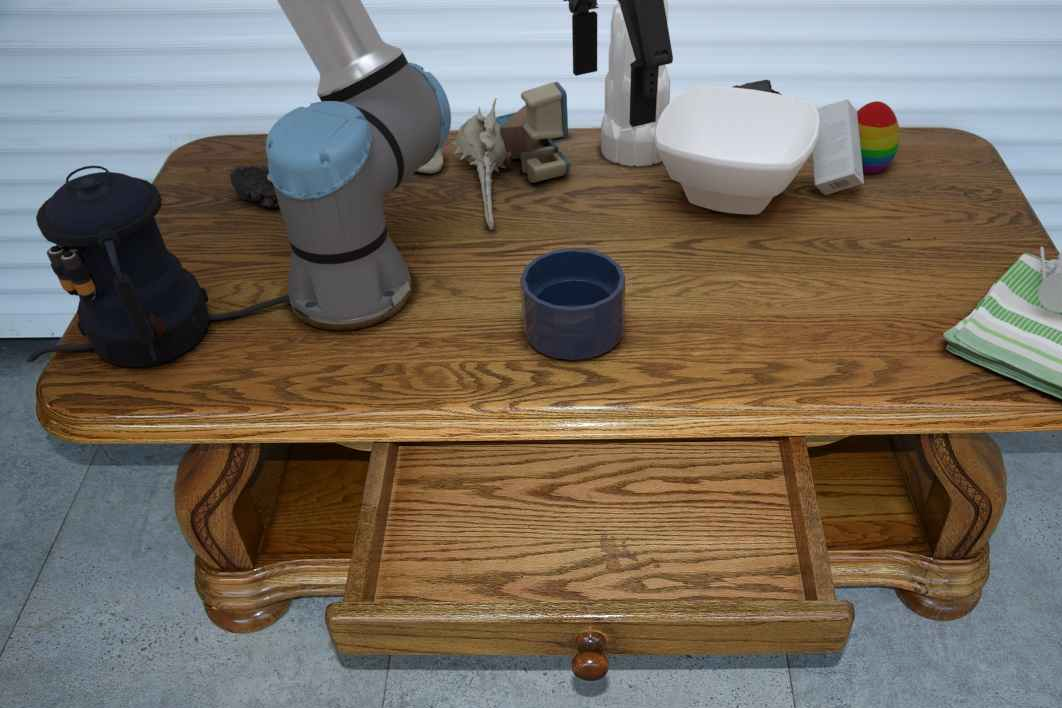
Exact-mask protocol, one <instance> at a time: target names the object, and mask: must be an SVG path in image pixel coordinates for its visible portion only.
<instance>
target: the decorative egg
mask: <svg viewBox="0 0 1062 708" xmlns="http://www.w3.org/2000/svg"><path fill="white" fill-rule="evenodd" d="M856 111H857V116H858V126H859V137H860V147H861V158H862V168H863V174H876V173H879V172H881V171H884V170H885V169H886V168H887V167H888V166H889V165H890V164H891V162H892V161H893V160H894V158H895V156H896V155H897V152H898V149H899V145H900V137H901V136H900V125H899V121H898V118H897V115H896V114H895V112H894V111H893V109H892V108H891V107H890V106H889V105H888V104H887V103H885V102H883V101H880V100H879V101H877V100H875V101H871V102H869V103H866V104H865V105H862V106H861V107H860V108H859V109H857V110H856Z"/></svg>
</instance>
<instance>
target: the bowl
mask: <svg viewBox="0 0 1062 708" xmlns="http://www.w3.org/2000/svg"><path fill="white" fill-rule="evenodd" d="M780 94H781V93H780ZM780 94H776V93H770V92H764V91H759V90H752V89H743V88H734V87H733V86H718V85H696V86H690V87H689V88H687V89H685V90H683V91H681V92H680V93H678V94H677V95H676V96H675V97H674V98H673V99H671V100H670V102H669V104H668V106H667V107H666V108H665V109H664V111H663V112H662V113H661V115H660V118H659V120H658V122H657V124H656V127H655V132H654V136H653V139H654V144H655V148H656V150H657V152H658V154H659V156H660V158H661V160H662V161H661V162H662V163H663V166H664V168H665V170H666V172H667V174H668V176H669V178H670V180H672V181H675V182H678V183H679V184H680V185H681V186H682V190H683V191H684V192H683V193H684V194H685V196H686V198H687V201H688V202H689V203H690V204H692V205H695V206H698V207H701V208H704V209H709V210H712V211H715V212H721V213H725V214H726V213H727V214H735V215H736V214H737V215H750V216H751V215H759V214H761V213H762V212H763V211H764V210H765V209H766V207H767V206H768V205H769V204H770V203H771V201H772V200H773V198H774V197H776V196H779V195H780V194H782V192H784V191H785V190H786V189H787V188H788V186H789V185H790V184H791V183H792V182H793V180H794V179H795V177H796V176H797V175H798V173H799V172H800V170H801V169H802V168H803V166H804V165H805V163H806V162H807V161H808V159H809V158H810V156H812V152H813V150H814V148H815V146H816V144H817V142H818V139H819V134H820V116H819V113H818V111H817V109H818V108H817V107H816V105H815V104H814V103H812V102H809V101H805V100H803V99H800V98H797V97H793V96H789V95H785V94H782V95H780Z"/></svg>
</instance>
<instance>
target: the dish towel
mask: <svg viewBox="0 0 1062 708" xmlns="http://www.w3.org/2000/svg"><path fill="white" fill-rule="evenodd" d="M1049 261H1050V260H1046V259H1045V263H1049ZM1045 266H1046V265H1045ZM1041 268H1042V264H1041V257H1038V256H1036V255H1033V254H1031V253H1028V252H1024V253H1023V254H1021V255H1020V256H1019V258H1017V260H1016V261H1015V262H1014V263H1013V264H1012V265H1011V266H1010V267H1009V268H1008V269H1007V270H1006V271H1005V272H1004V273H1003V274H1002V275H1001V276H1000V277H998V279H997V280H996V281H995V282H994V283H993V284H992V286H991V287H990V289H989V290H988V292H987V293H986V294H985V296H984V297H983V298H982V299H981V300H980V301H979V302H978V303H977V305H976V306H975V308H973V310H972V311H971V312H970V314H968V315H967V316H966V317H964V318H963V319H961V320H959V322H958V323H956V325H954V326H952V327H950V328H949V329H948V330H946V331H945V332H943V334H942V336H943V339H944V341H947V343H948V344H947V345H946V350H947V351H948V352H950V353H951V354H953V355H956V356H959V357H961V358H963V359H965V360H967V361H969V362H971V363H973V364H976V365H978V366H981V367H983V368H985V369H988V370H990V371H992V372H995V373H997V374H999V375H1002V376H1005V377H1008V378H1010V379H1012V380H1015V381H1017V382H1019V383H1021V384H1024V385H1026V386H1028V387H1031V388H1033V389H1035V390H1038V391H1040V392H1043V393H1046V394H1048V395H1050V396H1053V397H1055V398H1057V399H1060V400H1062V313H1059V312H1053V311H1050V310H1048V309H1046V308H1045V307H1044V306H1043V305H1042V304H1041V303H1040V301H1039V298H1038V289H1039V286H1040V284H1041V282H1042V280H1043V276H1042V273H1041V272H1040V269H1041ZM1046 270H1047V267H1046ZM1054 271H1055V269H1054V270H1053V271H1052V272H1051V273H1050V274H1046V277H1047V276H1049V275H1051V274H1053V273H1054Z"/></svg>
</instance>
